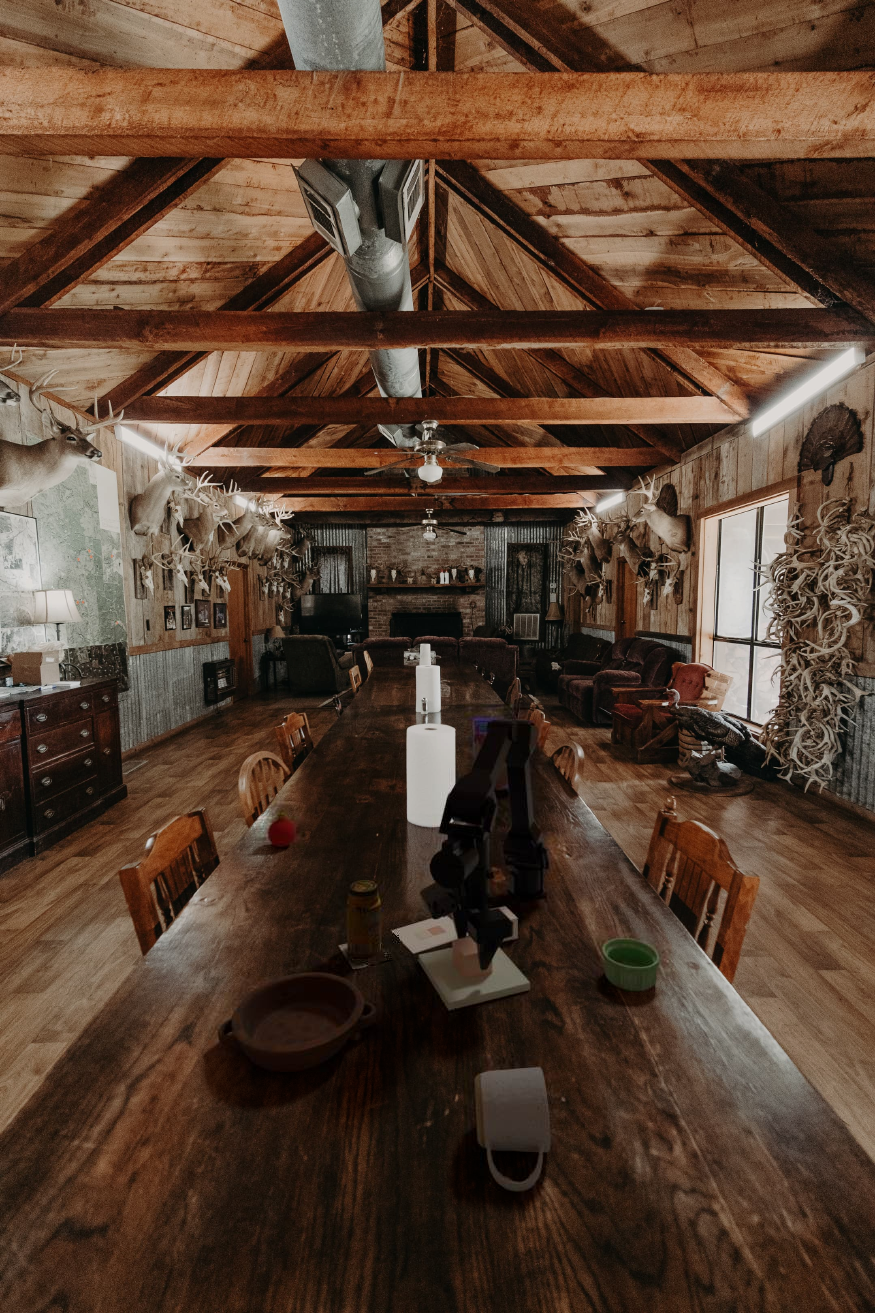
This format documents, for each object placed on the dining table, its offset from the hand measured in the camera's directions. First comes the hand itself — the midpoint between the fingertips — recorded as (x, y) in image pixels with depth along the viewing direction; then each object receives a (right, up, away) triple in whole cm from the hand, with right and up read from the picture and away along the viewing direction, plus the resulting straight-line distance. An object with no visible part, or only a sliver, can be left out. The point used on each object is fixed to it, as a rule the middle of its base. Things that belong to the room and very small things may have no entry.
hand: (472, 954), depth 101 cm
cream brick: (+6, -3, +13) cm, 15 cm away
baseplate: (0, -4, 0) cm, 4 cm away
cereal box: (+15, +4, +107) cm, 108 cm away
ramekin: (+26, -4, -1) cm, 26 cm away
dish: (-25, -5, -15) cm, 30 cm away
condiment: (-19, -4, +7) cm, 20 cm away
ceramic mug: (+3, -6, -33) cm, 33 cm away
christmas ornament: (-46, 0, +58) cm, 74 cm away
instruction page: (-7, -3, +14) cm, 16 cm away
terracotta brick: (0, -2, 0) cm, 2 cm away
